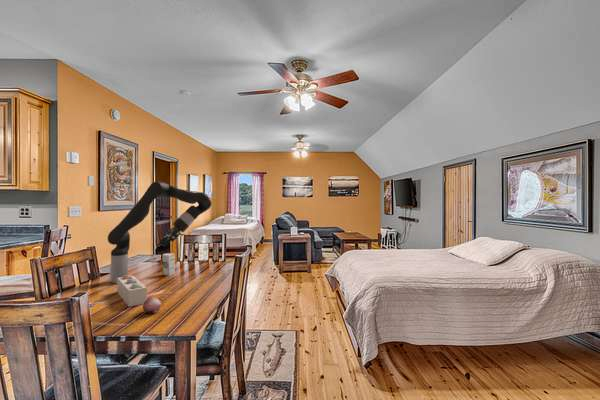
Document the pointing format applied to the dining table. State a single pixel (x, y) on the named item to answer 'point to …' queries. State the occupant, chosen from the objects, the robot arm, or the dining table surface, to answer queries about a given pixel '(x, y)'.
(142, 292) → the block
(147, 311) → the onion
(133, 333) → the dining table surface
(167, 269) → the syrup box
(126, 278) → the terracotta button
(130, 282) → the slate button
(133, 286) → the sage button
